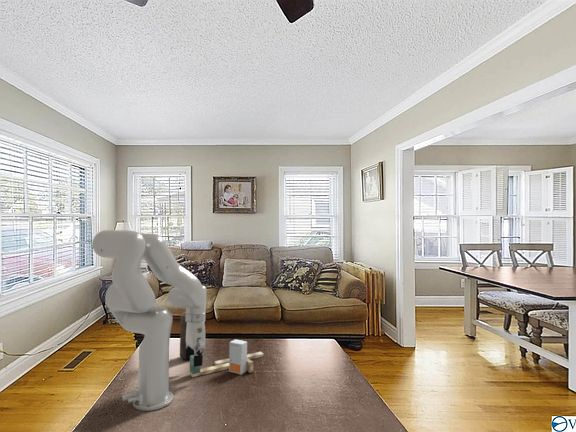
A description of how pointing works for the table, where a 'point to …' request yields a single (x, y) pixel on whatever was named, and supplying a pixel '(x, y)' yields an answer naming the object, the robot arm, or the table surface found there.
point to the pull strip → (213, 367)
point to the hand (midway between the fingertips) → (193, 362)
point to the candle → (183, 336)
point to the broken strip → (250, 356)
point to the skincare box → (238, 356)
